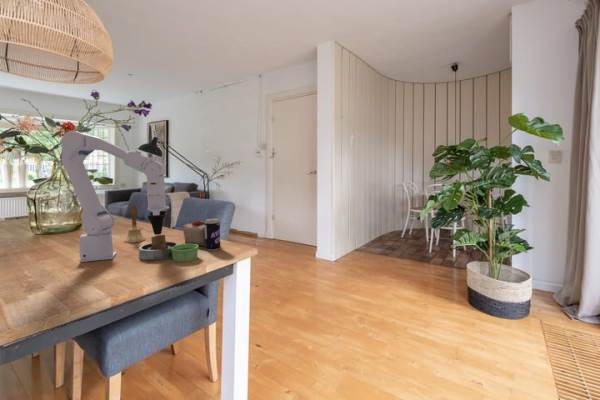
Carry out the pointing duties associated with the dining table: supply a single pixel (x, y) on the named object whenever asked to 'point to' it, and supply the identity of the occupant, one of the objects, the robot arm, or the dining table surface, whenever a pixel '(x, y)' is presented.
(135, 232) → the hand bell
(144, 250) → the grey metal bowl
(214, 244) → the beverage can
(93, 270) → the dining table surface
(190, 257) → the ramekin
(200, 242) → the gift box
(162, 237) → the tan wooden block
